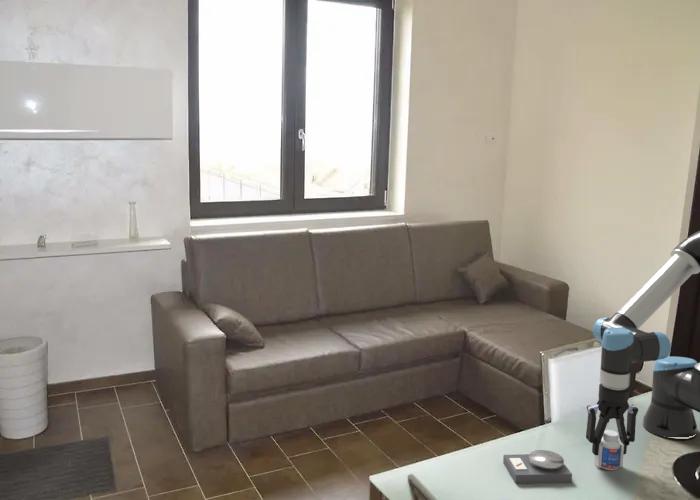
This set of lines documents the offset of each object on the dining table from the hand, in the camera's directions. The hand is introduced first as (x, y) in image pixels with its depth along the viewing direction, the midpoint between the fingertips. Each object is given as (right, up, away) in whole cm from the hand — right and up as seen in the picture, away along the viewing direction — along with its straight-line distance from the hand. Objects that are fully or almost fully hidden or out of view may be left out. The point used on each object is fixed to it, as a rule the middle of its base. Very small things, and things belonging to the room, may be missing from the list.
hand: (608, 464), depth 175 cm
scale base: (-21, -1, -4) cm, 21 cm away
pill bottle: (0, -1, 0) cm, 1 cm away
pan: (-18, +2, -4) cm, 19 cm away
